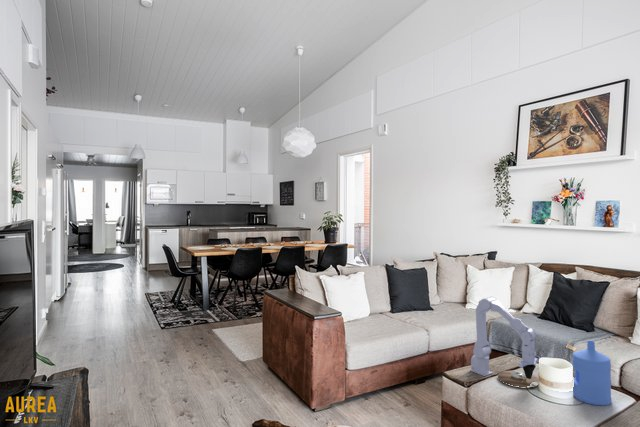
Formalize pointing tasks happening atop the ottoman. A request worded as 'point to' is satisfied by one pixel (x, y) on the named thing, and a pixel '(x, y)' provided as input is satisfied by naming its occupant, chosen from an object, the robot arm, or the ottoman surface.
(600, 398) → the water jug
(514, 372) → the cover
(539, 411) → the ottoman surface
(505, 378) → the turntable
